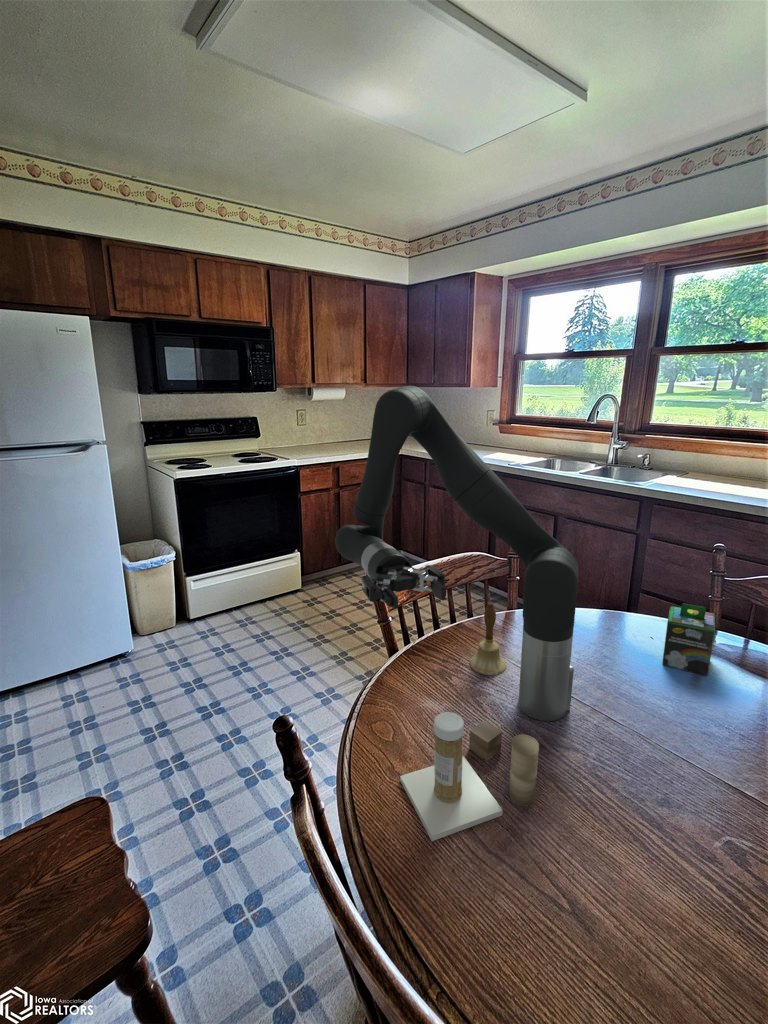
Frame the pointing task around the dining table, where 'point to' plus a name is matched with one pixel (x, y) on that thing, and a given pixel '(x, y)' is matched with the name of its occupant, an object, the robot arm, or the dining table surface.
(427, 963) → the dining table surface
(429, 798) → the ceramic tile
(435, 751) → the sprinkles bottle
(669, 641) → the chalk box
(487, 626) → the hand bell
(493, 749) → the walnut block
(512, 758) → the beech dowel
